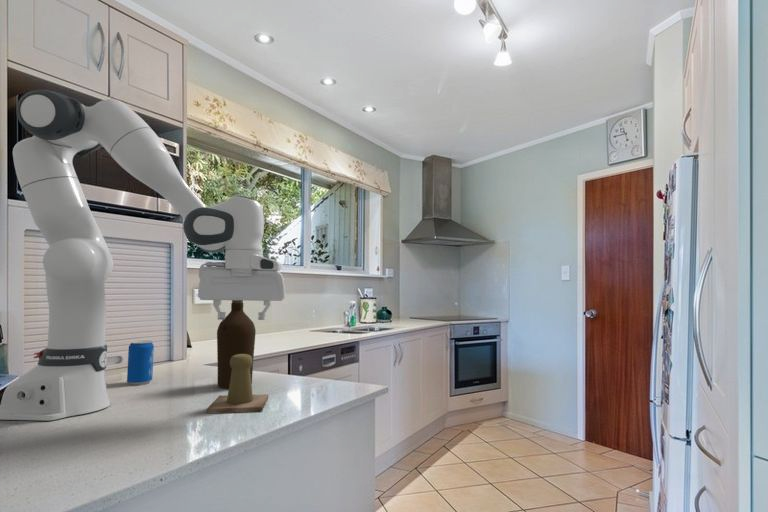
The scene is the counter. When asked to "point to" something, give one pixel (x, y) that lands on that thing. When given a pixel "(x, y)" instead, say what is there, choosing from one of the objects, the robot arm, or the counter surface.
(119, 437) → the counter surface
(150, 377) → the beverage can
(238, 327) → the olive oil
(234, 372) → the cork
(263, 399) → the walnut trivet
